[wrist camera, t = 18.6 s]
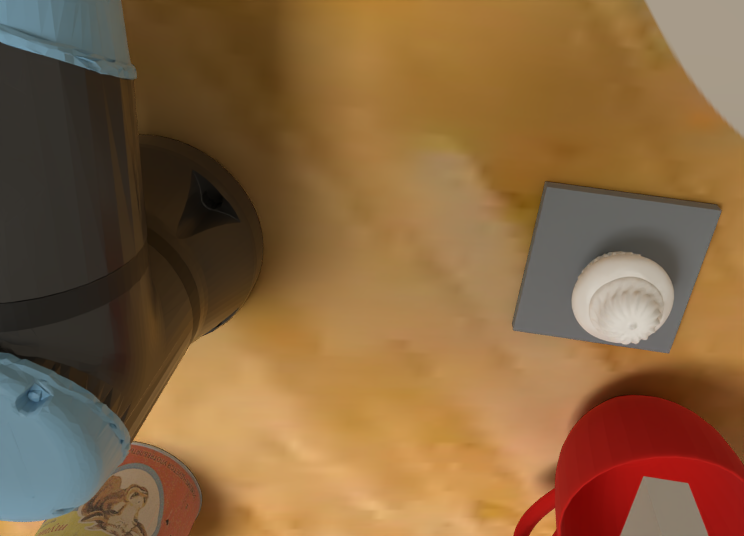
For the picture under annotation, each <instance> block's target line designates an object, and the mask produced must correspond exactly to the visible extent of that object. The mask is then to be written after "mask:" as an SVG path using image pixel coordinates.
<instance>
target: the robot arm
mask: <svg viewBox="0 0 744 536" xmlns="http://www.w3.org/2000/svg"><path fill="white" fill-rule="evenodd" d="M136 78H137V72H136V68H135V66H134V65H132V64H131V61H130V55H129V49H128V43H127V36H126V29H125V23H124V16H123V9H122V3H121V0H0V520H2V521H13V522H32V521H42V520H47V519H52V518H56V517H59V516H62V515H65V514H67V513H70V512H71V511H73V510H74V509H75V508H76V507H79V506H81V505H83V504H85V503H87V502H88V501H89V500H90V499H91V498H92V497H93V496H94V495H95V494H96V493H97V492H98V491H99V490H100V488H101V487H102V486H103V485H104V483H105V482H106V481H107V480H108V478H109V477H110V476H111V475H112V473H113V472H114V471H115V470H116V468H117V467H118V466H119V465H120V464H121V463H123V461H124V460H125V458H126V456H127V455H128V454H129V450H130V448H131V446H130V445H131V443H132V441H133V440H134V438H135V436H136V435H137V433H138V431H139V430H140V428H141V426H142V425H143V423H144V421H145V420H146V418H147V416H148V414H149V413H150V411H151V409H152V408H153V406H154V404H155V403H156V401H157V399H158V398H159V396H160V394H161V393H162V391H163V389H164V388H165V386H166V384H167V383H168V381H169V379H170V378H171V376H172V374H173V373H174V371H175V369H176V368H177V366H178V364H179V363H180V361H181V359H182V358H183V356H184V354H185V352H186V350H187V349H188V347H189V346H190V344H191V343H193V342H194V341H196V340H197V339H199V338H200V337H201V336H204V335H206V334H208V333H210V332H212V331H214V330H216V329H217V328H219V327H221V326H222V325H224V324H225V323H226V322H228V321H229V320H230V319H231V318H232V317H233V316H234V315H235V314H236V313H237V312H238V311H239V310H240V308H241V307H242V306H243V304H244V303H245V301H246V300H247V298H248V296H249V294H250V292H251V291H252V289H253V287H254V285H255V283H256V281H257V279H258V276H259V273H260V270H261V266H262V260H263V237H262V231H261V227H260V223H259V220H258V217H257V214H256V212H255V209H254V207H253V205H252V203H251V201H250V199H249V198H248V196H247V194H246V193H245V191H244V190H243V189H242V187H241V186H240V185H239V183H238V182H237V181H236V180H235V179H234V177H233V176H232V175H231V174H230V173H229V172H228V171H227V170H226V169H225V168H223V167H222V166H221V165H220V164H219V163H218V162H216V161H215V160H214V159H212V158H211V157H209V156H208V155H206V154H205V153H203V152H201V151H199V150H198V149H196V148H194V147H192V146H189V145H187V144H185V143H182V142H179V141H176V140H173V139H169V138H165V137H160V136H153V135H138V125H137V113H136V102H135V90H134V79H136ZM620 536H708V533H707V530H706V528H705V525H704V523H703V520H702V518H701V515H700V512H699V510H698V507H697V505H696V502H695V499H694V497H693V494H692V492H691V489H690V486H689V484H688V483H684V482H677V481H671V480H665V479H658V478H652V477H645V476H643V478H642V481H641V484H640V486H639V489H638V491H637V494H636V496H635V499H634V502H633V504H632V507H631V509H630V512H629V514H628V517H627V520H626V522H625V525H624V527H623V530H622V533H621V535H620Z"/></svg>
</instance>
